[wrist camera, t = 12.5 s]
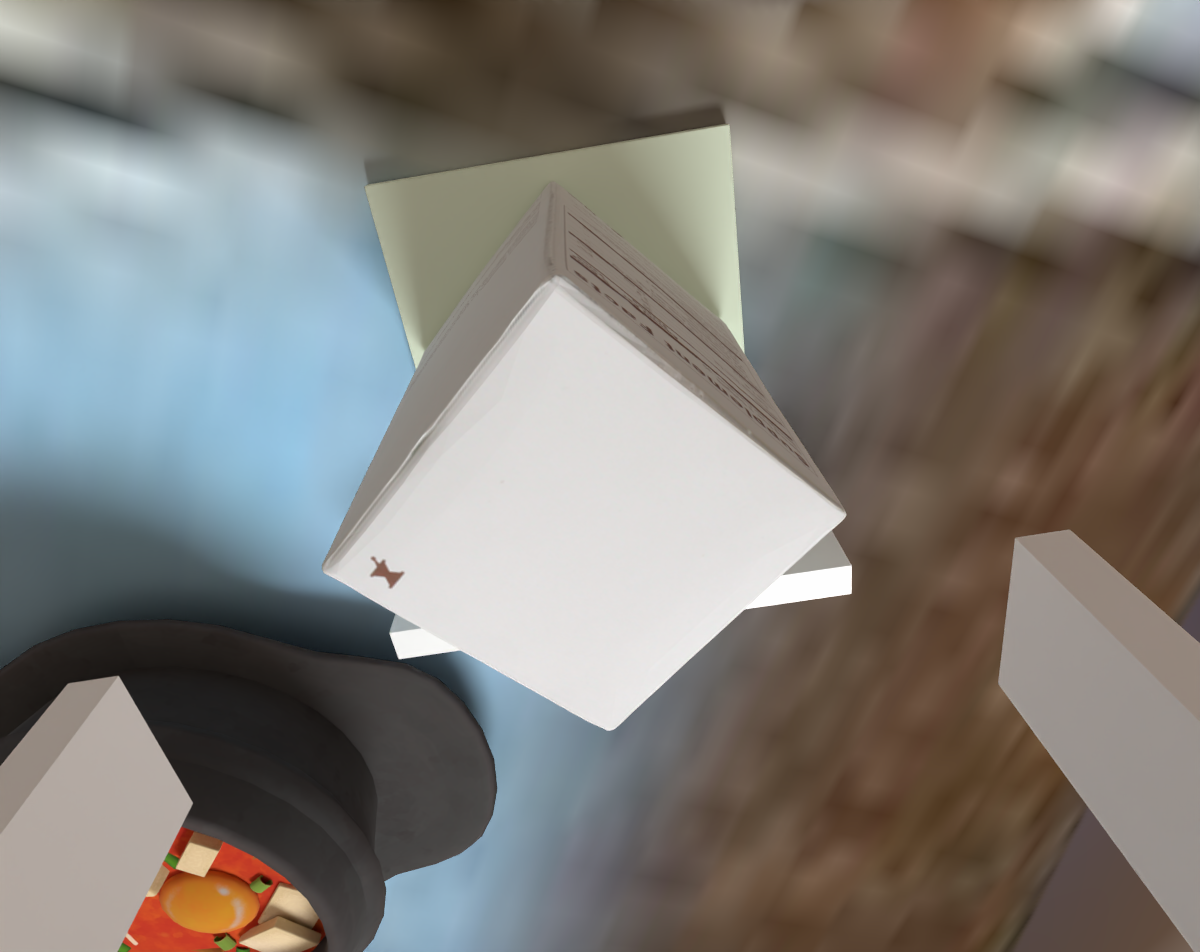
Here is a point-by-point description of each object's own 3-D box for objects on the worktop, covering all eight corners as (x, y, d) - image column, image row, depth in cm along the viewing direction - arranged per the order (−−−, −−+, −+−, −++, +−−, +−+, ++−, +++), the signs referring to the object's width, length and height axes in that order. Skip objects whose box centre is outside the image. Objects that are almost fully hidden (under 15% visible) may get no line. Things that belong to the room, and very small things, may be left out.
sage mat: (454, 493, 28) (453, 500, 28) (368, 184, 23) (364, 186, 23) (748, 448, 28) (751, 455, 28) (726, 123, 23) (729, 124, 22)
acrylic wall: (418, 590, 30) (398, 659, 27) (410, 566, 30) (389, 633, 26) (817, 531, 30) (851, 593, 26) (817, 505, 29) (851, 565, 26)
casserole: (46, 907, 39) (-76, 1103, 32) (-166, 624, 30) (-402, 804, 23) (529, 857, 39) (520, 1044, 31) (457, 554, 30) (421, 714, 22)
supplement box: (590, 475, 28) (605, 748, 17) (417, 351, 25) (300, 574, 14) (732, 321, 25) (862, 521, 14) (556, 168, 23) (545, 264, 12)
